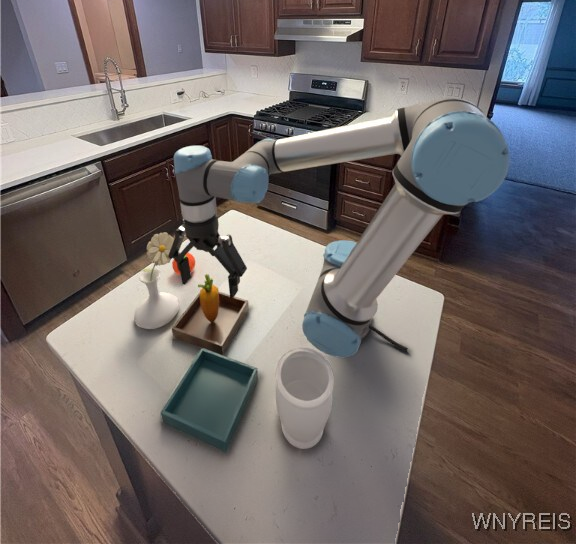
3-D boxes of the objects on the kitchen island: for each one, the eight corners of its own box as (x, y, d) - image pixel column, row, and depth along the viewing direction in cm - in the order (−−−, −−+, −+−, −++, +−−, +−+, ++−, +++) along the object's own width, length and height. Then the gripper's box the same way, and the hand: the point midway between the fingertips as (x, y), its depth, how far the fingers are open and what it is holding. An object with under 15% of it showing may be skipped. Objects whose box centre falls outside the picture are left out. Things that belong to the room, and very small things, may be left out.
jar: (265, 422, 62) (263, 373, 56) (300, 384, 69) (302, 336, 63) (304, 472, 55) (307, 422, 49) (339, 424, 62) (346, 375, 56)
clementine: (199, 277, 98) (197, 259, 95) (177, 285, 95) (173, 267, 92) (193, 261, 104) (191, 244, 101) (171, 269, 101) (168, 251, 98)
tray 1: (248, 309, 87) (248, 300, 85) (222, 356, 74) (221, 346, 73) (204, 296, 91) (203, 287, 90) (173, 337, 79) (171, 328, 77)
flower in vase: (142, 341, 78) (123, 262, 68) (130, 312, 86) (111, 237, 76) (192, 314, 85) (181, 238, 75) (176, 289, 93) (164, 218, 84)
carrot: (217, 331, 80) (212, 287, 74) (199, 328, 81) (193, 284, 75) (224, 315, 84) (220, 272, 78) (207, 312, 85) (202, 269, 79)
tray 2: (258, 377, 70) (257, 367, 68) (226, 452, 57) (225, 442, 56) (203, 357, 74) (201, 347, 73) (162, 423, 62) (160, 412, 60)
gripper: (258, 215, 69) (261, 288, 77) (165, 197, 77) (177, 266, 85) (242, 234, 62) (248, 312, 71) (143, 213, 70) (158, 285, 78)
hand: (209, 287), depth 78 cm, fingers open, 13 cm apart
